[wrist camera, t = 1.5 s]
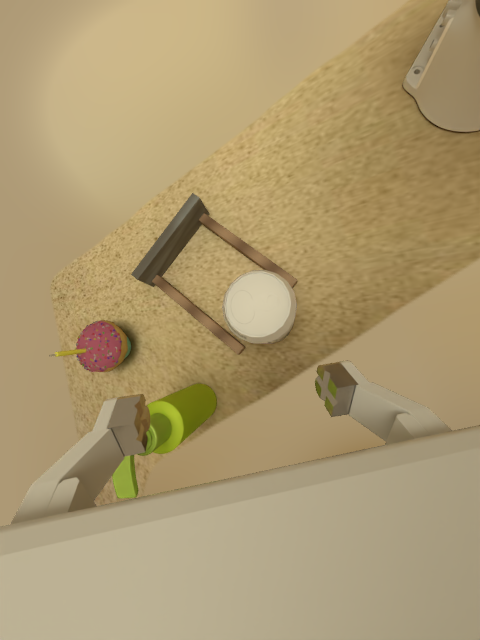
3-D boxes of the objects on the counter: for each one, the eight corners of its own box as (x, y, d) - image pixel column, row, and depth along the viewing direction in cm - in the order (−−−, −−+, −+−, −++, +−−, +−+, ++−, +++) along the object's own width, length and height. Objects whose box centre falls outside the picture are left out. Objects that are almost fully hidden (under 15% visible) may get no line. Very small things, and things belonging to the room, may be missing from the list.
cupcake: (113, 379, 45) (51, 391, 33) (91, 341, 46) (25, 340, 35) (149, 350, 44) (98, 353, 32) (125, 313, 46) (69, 302, 34)
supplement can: (248, 347, 40) (225, 349, 26) (240, 299, 42) (213, 274, 27) (298, 339, 39) (304, 336, 24) (288, 289, 40) (288, 257, 25)
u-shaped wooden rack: (300, 278, 40) (301, 269, 35) (236, 357, 41) (229, 359, 36) (203, 209, 44) (192, 192, 40) (148, 281, 45) (131, 274, 40)
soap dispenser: (186, 427, 41) (93, 502, 22) (181, 385, 42) (88, 421, 23) (219, 424, 40) (154, 500, 21) (214, 381, 41) (146, 415, 21)
